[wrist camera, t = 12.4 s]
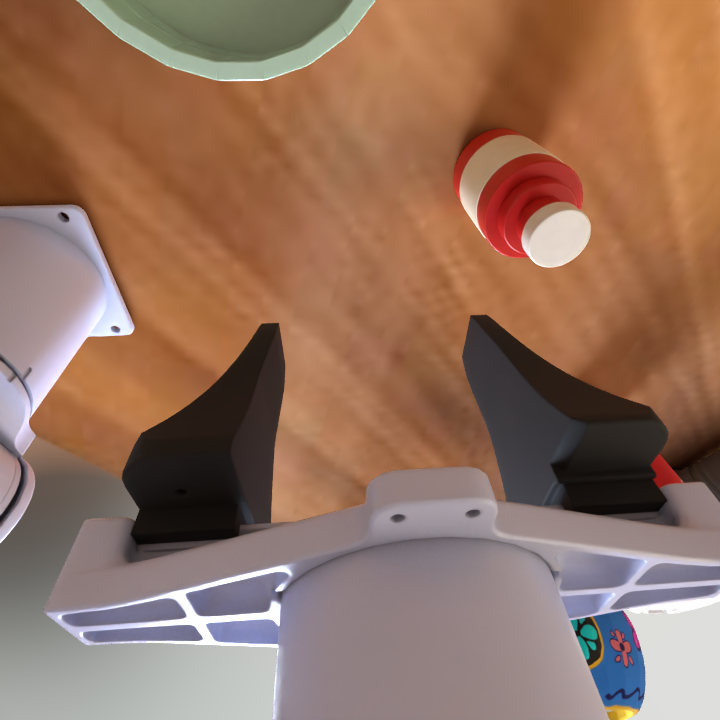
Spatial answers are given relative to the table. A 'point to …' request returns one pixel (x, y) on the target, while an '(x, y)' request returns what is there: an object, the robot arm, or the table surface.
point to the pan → (231, 32)
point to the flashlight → (704, 473)
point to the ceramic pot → (613, 661)
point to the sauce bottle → (522, 198)
